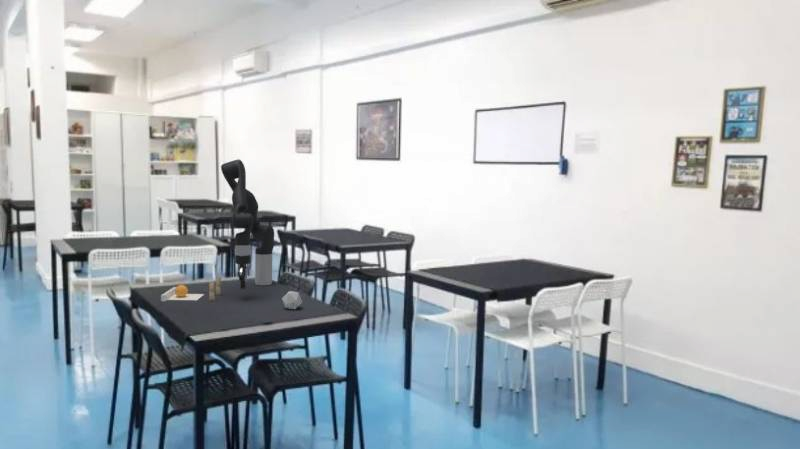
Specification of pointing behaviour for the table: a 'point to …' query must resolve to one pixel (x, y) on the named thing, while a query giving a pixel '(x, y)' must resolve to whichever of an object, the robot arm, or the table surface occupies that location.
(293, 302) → the die
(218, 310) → the table surface
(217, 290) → the post
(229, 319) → the table surface
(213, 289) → the post
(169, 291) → the stopper wall
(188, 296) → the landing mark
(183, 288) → the ball
